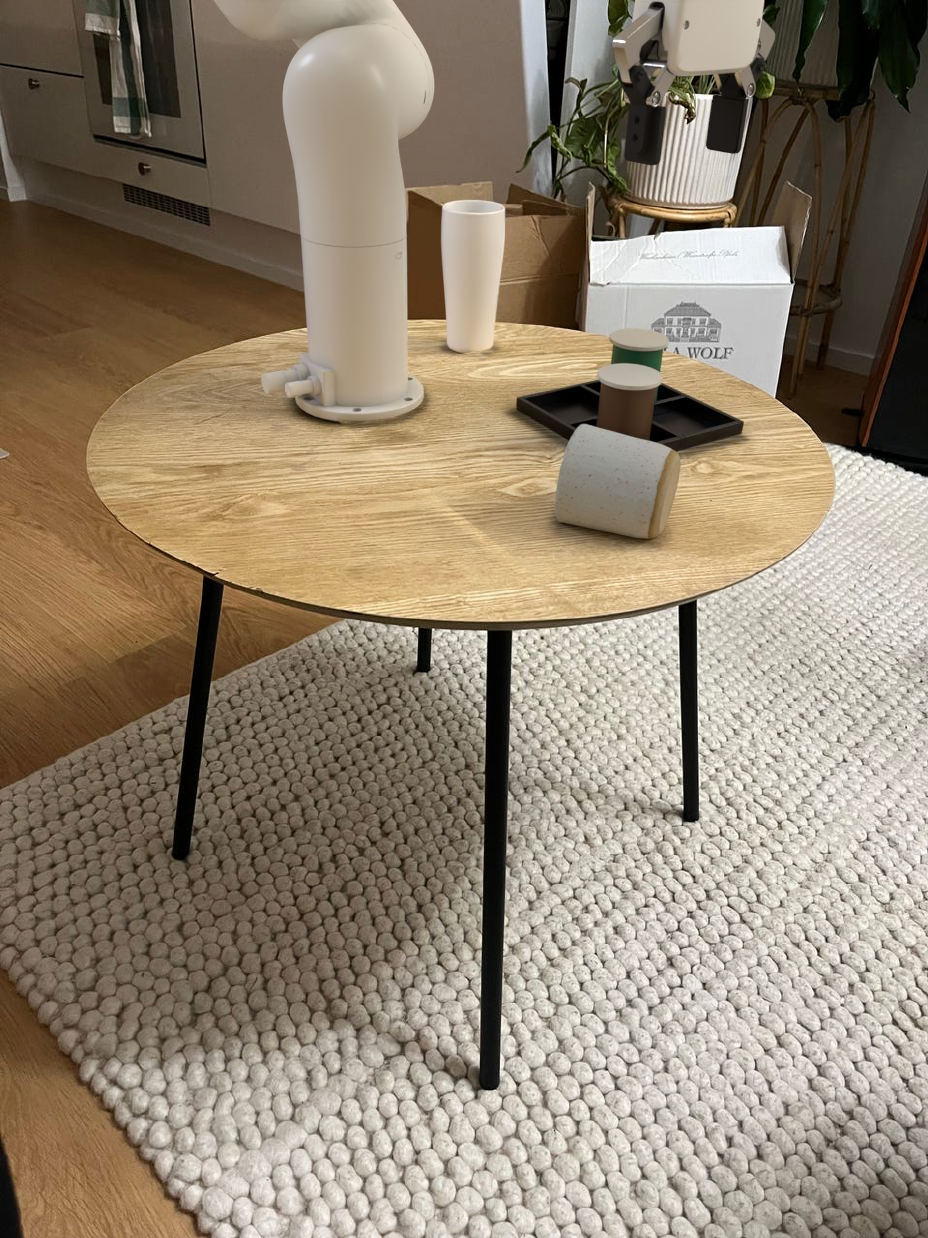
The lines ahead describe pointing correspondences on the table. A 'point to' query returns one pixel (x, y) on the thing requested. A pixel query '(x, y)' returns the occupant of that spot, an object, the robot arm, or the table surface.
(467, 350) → the drinking glass
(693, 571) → the table surface
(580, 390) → the tray
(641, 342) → the cylinder
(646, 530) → the ceramic mug
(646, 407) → the cylinder
